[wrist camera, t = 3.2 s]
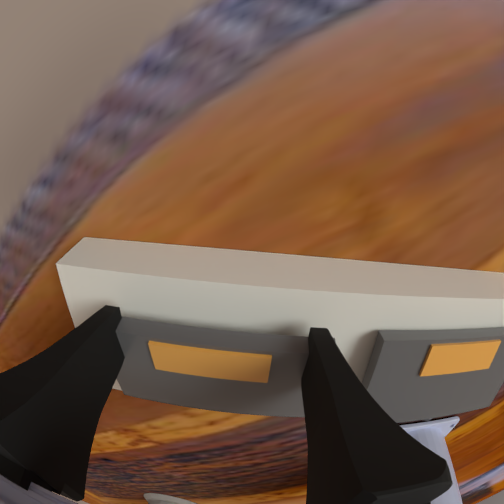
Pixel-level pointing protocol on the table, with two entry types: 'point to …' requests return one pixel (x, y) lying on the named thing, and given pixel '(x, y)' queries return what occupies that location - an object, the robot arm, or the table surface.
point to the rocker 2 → (435, 371)
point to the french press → (165, 499)
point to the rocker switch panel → (276, 292)
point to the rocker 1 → (213, 368)
